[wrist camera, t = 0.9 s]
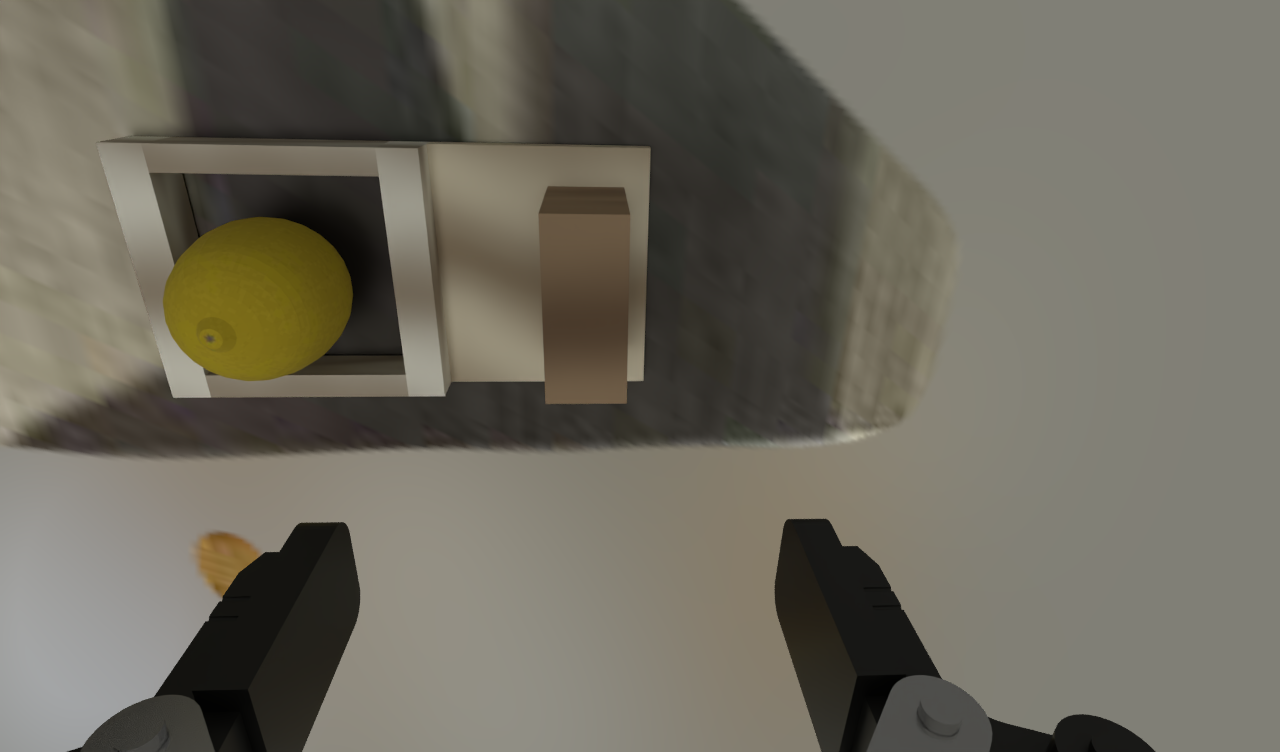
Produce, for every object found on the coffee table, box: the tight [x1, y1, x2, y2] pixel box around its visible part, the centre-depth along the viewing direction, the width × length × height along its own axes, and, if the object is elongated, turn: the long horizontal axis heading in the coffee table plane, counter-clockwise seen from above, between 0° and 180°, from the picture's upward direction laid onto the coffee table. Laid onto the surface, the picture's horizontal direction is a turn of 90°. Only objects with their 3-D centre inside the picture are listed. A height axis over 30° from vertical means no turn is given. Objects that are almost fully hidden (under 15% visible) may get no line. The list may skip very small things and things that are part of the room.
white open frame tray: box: [96, 136, 651, 404], centre depth 26 cm, size 10×20×6 cm, turn 89°
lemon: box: [163, 217, 353, 381], centre depth 24 cm, size 6×6×8 cm
